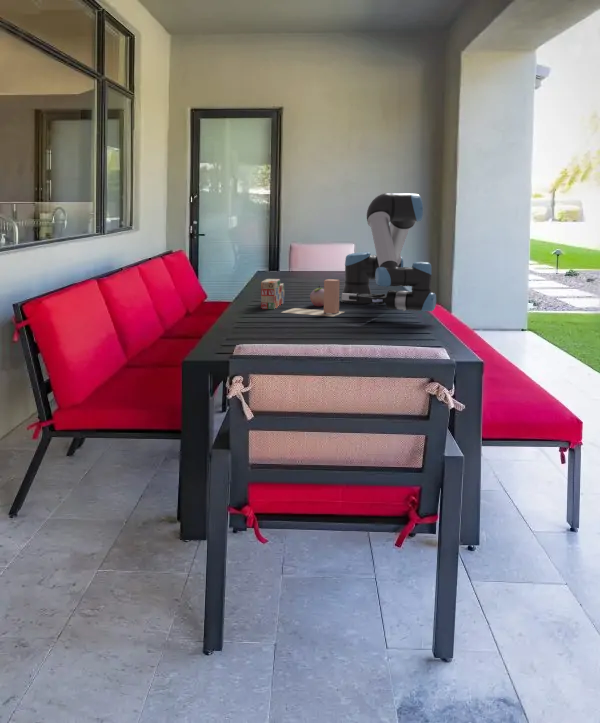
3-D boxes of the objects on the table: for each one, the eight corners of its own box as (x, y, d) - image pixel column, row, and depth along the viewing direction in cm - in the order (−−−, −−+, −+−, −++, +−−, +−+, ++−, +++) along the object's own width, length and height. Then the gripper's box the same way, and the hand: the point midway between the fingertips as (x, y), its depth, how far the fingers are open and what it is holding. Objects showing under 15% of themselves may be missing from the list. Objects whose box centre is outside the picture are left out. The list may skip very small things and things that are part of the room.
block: (338, 312, 324) (339, 279, 321) (334, 314, 320) (335, 280, 317) (327, 311, 326) (328, 279, 323) (323, 313, 322) (324, 280, 319)
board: (345, 314, 327) (345, 311, 327) (333, 318, 315) (333, 316, 314) (294, 310, 336) (294, 308, 336) (280, 314, 324) (280, 312, 324)
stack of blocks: (271, 302, 361) (271, 276, 358) (284, 303, 359) (284, 276, 357) (260, 309, 340) (260, 281, 337) (274, 309, 339) (274, 281, 336)
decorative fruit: (326, 309, 339) (327, 287, 337) (308, 309, 340) (309, 286, 338) (330, 306, 348) (330, 285, 346) (312, 306, 349) (312, 284, 347)
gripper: (392, 311, 305) (336, 307, 314) (401, 307, 317) (347, 303, 326) (393, 292, 303) (337, 289, 312) (402, 289, 315) (348, 286, 324)
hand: (342, 296), depth 319 cm, fingers closed
